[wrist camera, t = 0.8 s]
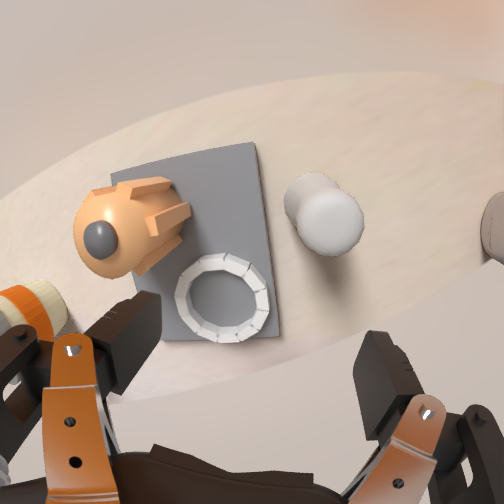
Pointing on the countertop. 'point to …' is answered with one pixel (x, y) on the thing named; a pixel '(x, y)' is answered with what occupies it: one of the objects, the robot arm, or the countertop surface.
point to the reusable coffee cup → (33, 310)
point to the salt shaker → (324, 214)
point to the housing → (188, 242)
